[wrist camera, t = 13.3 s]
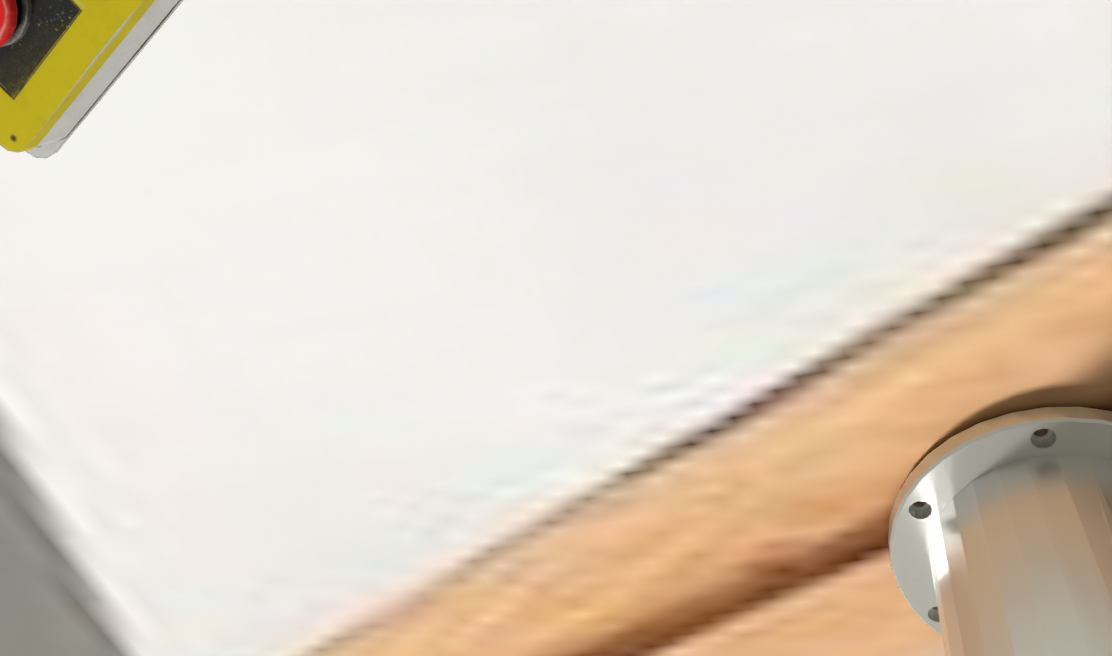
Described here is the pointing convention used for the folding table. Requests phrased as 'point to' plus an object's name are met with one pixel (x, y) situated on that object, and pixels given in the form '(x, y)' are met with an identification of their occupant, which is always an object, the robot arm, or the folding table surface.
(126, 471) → the folding table surface
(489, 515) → the folding table surface
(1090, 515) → the robot arm
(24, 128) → the emergency button
